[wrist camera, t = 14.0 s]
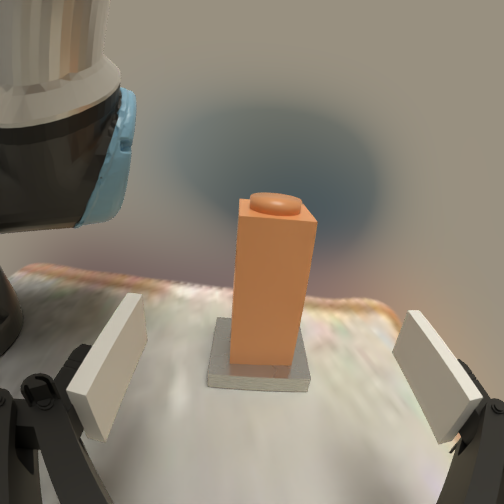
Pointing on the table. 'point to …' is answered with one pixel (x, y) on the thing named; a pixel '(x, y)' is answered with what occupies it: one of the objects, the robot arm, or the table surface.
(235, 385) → the junction plate
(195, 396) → the table surface
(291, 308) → the orange capped block
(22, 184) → the robot arm
